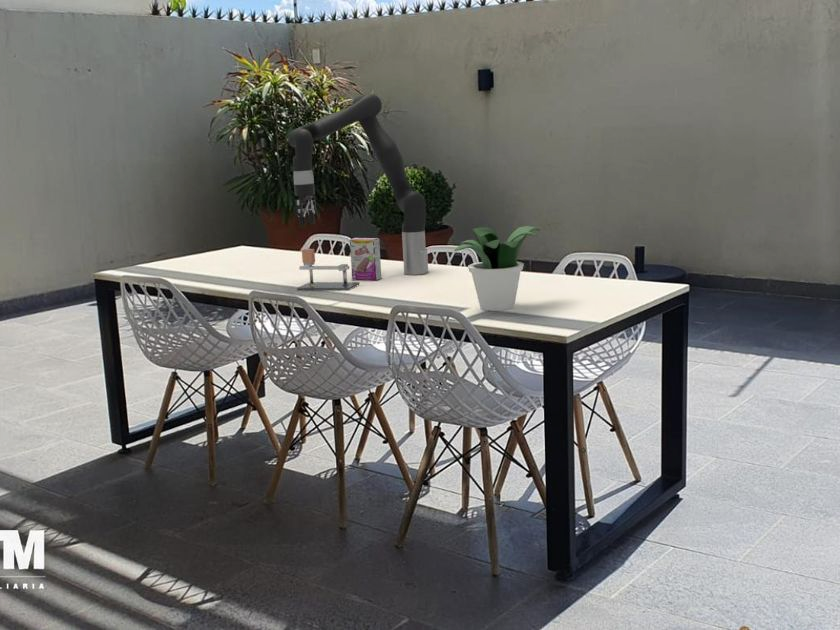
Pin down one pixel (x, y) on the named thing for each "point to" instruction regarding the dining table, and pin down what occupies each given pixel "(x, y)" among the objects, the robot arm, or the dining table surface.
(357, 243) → the candy bar box
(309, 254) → the block
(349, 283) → the bolt plate
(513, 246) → the potted plant
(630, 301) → the dining table surface
